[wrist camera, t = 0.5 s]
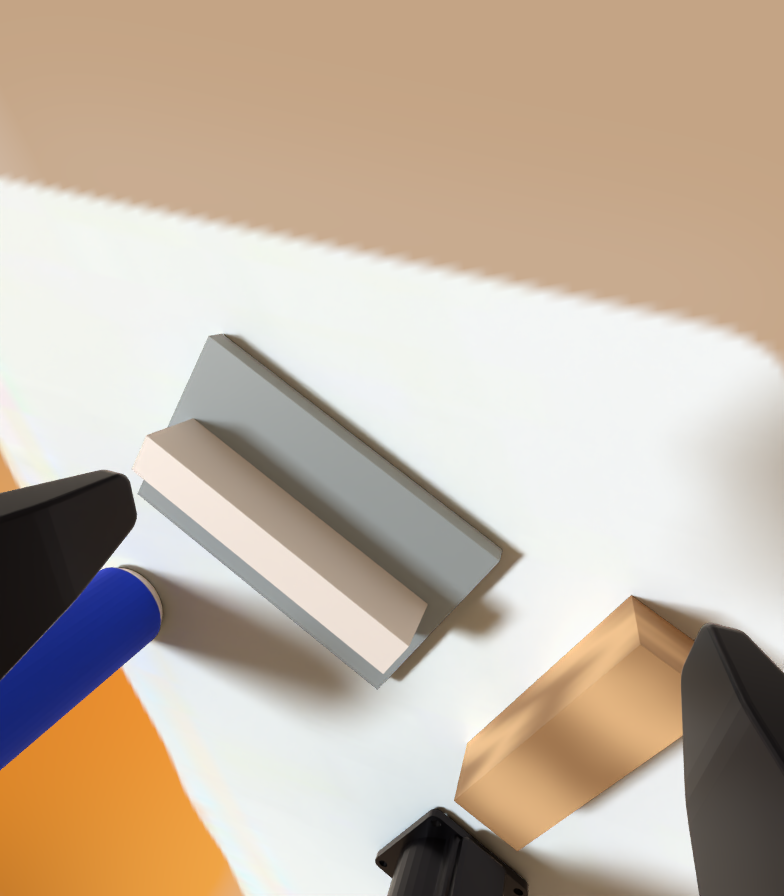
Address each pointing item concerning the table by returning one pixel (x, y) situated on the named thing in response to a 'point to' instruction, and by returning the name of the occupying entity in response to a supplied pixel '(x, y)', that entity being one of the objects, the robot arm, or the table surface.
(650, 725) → the oak bar
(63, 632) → the beverage can
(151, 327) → the table surface
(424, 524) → the stand
